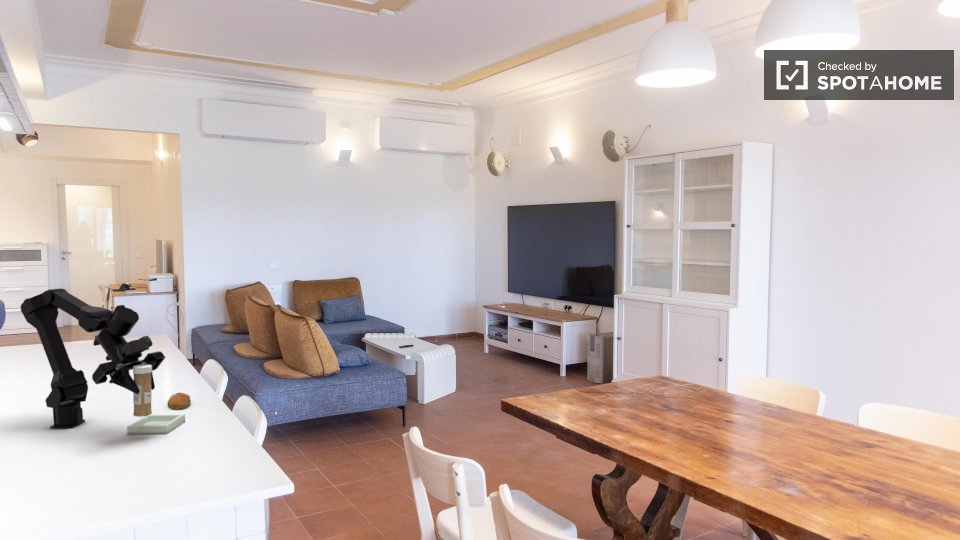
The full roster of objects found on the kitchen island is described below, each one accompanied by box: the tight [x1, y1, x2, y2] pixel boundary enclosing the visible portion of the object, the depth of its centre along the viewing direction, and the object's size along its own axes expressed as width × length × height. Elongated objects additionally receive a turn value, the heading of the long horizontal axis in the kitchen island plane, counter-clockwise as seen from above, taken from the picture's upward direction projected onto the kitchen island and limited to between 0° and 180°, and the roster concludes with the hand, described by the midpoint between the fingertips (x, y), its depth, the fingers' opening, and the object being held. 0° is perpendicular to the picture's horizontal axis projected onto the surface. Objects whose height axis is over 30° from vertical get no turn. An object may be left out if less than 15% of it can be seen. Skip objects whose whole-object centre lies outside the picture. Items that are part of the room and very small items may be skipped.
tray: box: [126, 413, 186, 435], centre depth 185 cm, size 11×11×2 cm
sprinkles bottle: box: [132, 365, 153, 418], centre depth 175 cm, size 5×5×14 cm
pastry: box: [166, 392, 192, 410], centre depth 207 cm, size 9×7×4 cm
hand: (146, 390), depth 175 cm, fingers closed on sprinkles bottle, 4 cm apart
